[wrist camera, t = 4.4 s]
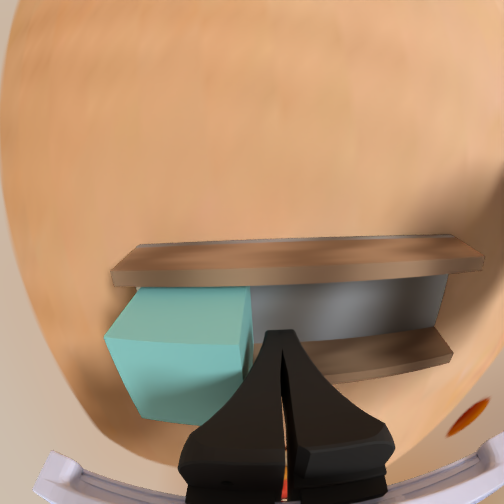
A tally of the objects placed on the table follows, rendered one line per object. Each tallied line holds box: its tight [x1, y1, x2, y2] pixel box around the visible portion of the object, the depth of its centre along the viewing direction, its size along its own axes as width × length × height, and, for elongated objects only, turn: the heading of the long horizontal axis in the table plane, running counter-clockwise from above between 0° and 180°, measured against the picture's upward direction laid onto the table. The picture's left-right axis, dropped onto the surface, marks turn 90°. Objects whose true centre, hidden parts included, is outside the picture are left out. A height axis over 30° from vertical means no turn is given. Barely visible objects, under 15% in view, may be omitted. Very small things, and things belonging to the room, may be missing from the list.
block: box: [104, 286, 254, 426], centre depth 12 cm, size 5×5×6 cm
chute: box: [110, 235, 485, 384], centre depth 14 cm, size 19×7×4 cm, turn 93°
